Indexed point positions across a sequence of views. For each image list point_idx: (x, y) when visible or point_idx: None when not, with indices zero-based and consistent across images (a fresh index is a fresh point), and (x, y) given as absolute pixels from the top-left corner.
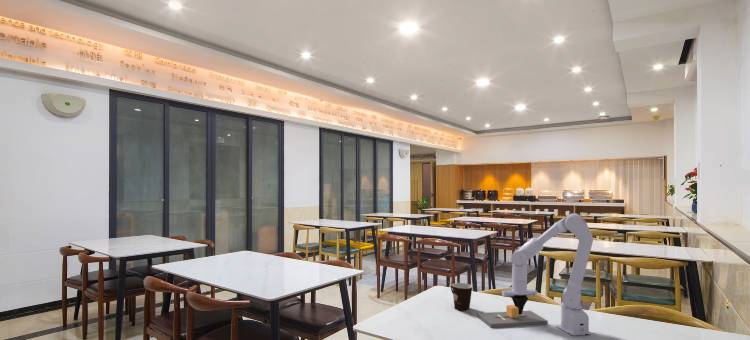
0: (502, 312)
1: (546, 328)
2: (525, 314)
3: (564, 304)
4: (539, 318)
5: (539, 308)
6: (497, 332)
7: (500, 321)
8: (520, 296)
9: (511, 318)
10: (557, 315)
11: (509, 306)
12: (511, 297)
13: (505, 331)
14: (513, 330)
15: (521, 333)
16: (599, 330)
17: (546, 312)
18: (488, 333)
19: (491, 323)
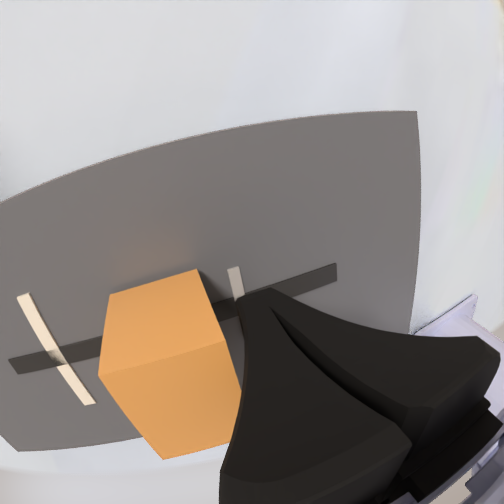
0: (78, 194)
1: None
2: (338, 228)
3: (473, 474)
4: (391, 305)
5: (462, 24)
6: (64, 468)
7: (61, 427)
8: (391, 492)
9: None
10: (492, 155)
11: (142, 417)
12: (227, 473)
13: (100, 461)
14: (145, 449)
15: (183, 465)
16: (491, 316)
17: (474, 97)
18: (30, 471)
19: (17, 447)
